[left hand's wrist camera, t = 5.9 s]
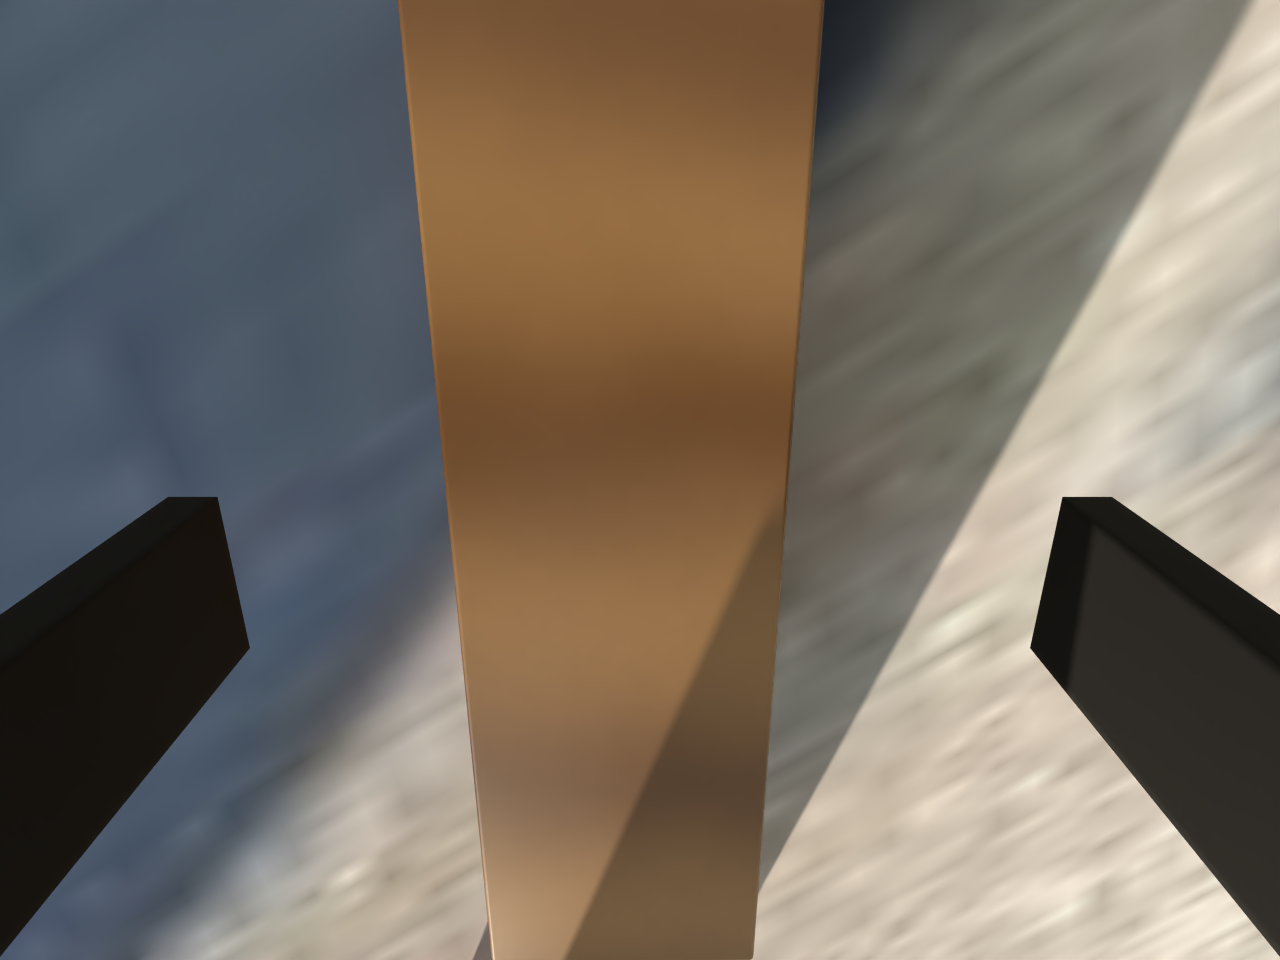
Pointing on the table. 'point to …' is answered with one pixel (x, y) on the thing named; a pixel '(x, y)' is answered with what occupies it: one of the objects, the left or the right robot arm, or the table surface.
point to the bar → (616, 441)
